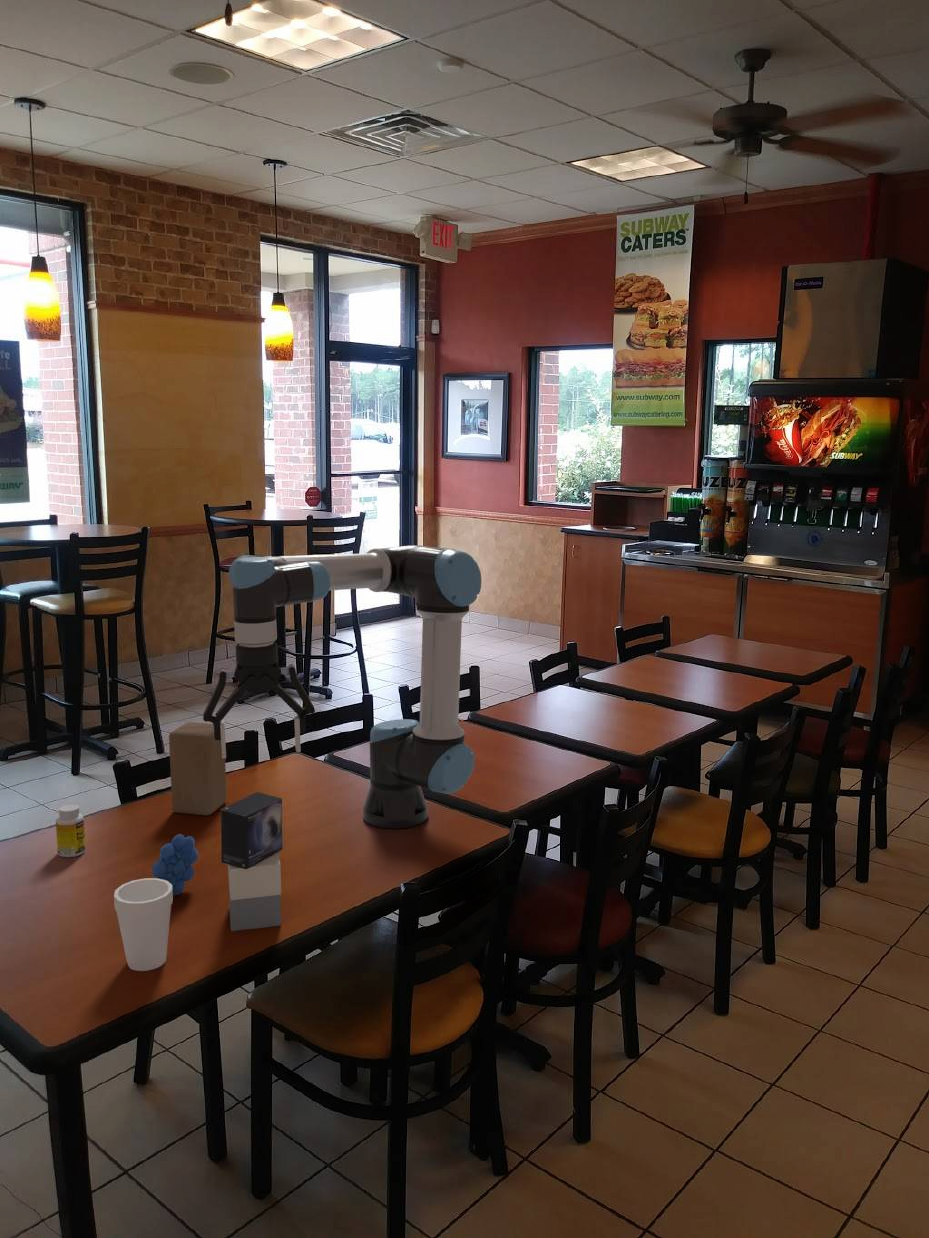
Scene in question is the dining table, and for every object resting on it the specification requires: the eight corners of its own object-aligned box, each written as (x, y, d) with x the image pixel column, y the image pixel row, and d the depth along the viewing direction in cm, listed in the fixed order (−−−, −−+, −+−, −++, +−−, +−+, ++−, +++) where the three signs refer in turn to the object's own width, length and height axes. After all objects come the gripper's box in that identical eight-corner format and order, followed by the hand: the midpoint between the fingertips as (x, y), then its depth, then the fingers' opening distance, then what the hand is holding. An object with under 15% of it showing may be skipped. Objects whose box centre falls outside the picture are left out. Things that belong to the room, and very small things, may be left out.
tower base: (277, 903, 190) (276, 874, 189) (281, 925, 182) (280, 895, 181) (229, 908, 188) (228, 879, 187) (230, 931, 180) (229, 900, 179)
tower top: (276, 873, 190) (275, 844, 189) (281, 894, 181) (280, 863, 180) (228, 878, 187) (227, 849, 186) (230, 900, 179) (229, 869, 178)
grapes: (181, 878, 200) (179, 822, 198) (207, 885, 197) (204, 829, 195) (137, 901, 190) (134, 842, 188) (163, 909, 187) (160, 850, 185)
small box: (247, 871, 177) (246, 815, 175) (219, 863, 180) (217, 808, 178) (284, 849, 186) (283, 796, 184) (257, 842, 189) (256, 790, 187)
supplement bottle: (80, 858, 209) (77, 812, 207) (53, 858, 209) (50, 812, 207) (89, 847, 214) (86, 802, 213) (63, 847, 214) (60, 802, 212)
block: (210, 817, 232) (206, 735, 228) (170, 813, 234) (166, 732, 230) (228, 802, 241) (225, 723, 238) (190, 798, 243) (187, 720, 240)
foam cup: (181, 947, 174) (178, 878, 171) (168, 975, 165) (164, 903, 162) (127, 947, 174) (123, 878, 171) (110, 975, 164) (106, 903, 162)
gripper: (322, 634, 187) (325, 741, 192) (185, 641, 181) (192, 751, 186) (327, 642, 180) (330, 753, 185) (185, 651, 174) (192, 765, 178)
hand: (261, 753), depth 185 cm, fingers open, 13 cm apart
